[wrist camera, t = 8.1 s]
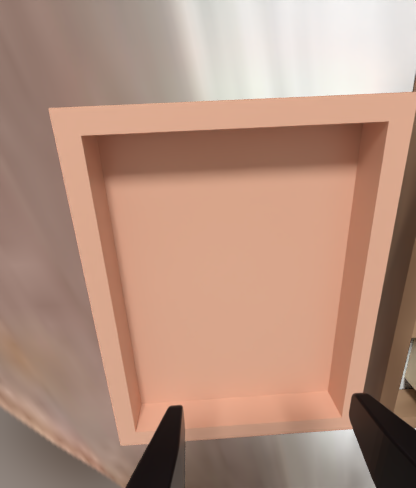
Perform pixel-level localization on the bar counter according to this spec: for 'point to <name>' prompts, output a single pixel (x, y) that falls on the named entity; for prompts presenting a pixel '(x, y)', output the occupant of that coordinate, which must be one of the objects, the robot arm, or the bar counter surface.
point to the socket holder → (397, 304)
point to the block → (412, 366)
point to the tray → (235, 254)
